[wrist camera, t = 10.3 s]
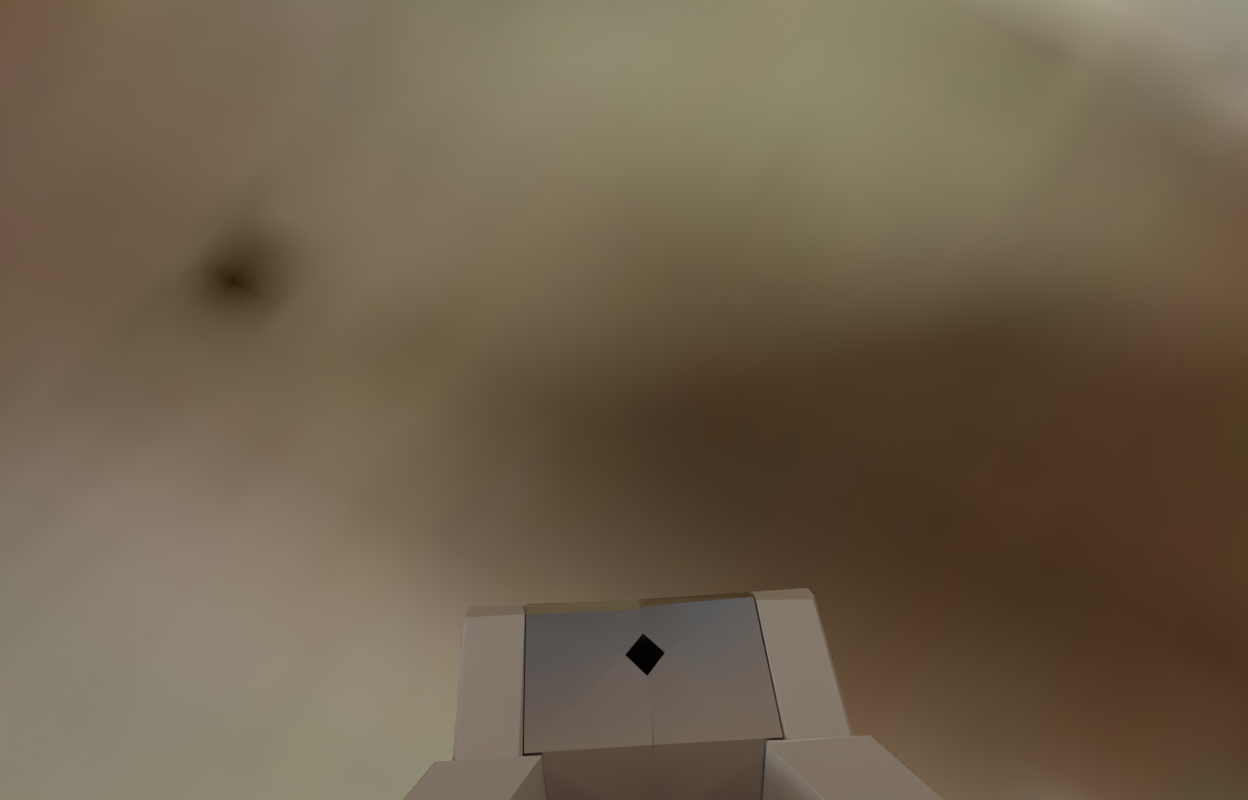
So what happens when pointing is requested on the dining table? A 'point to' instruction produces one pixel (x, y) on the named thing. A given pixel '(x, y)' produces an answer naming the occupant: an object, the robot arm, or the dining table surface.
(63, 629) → the dining table surface
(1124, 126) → the dining table surface
